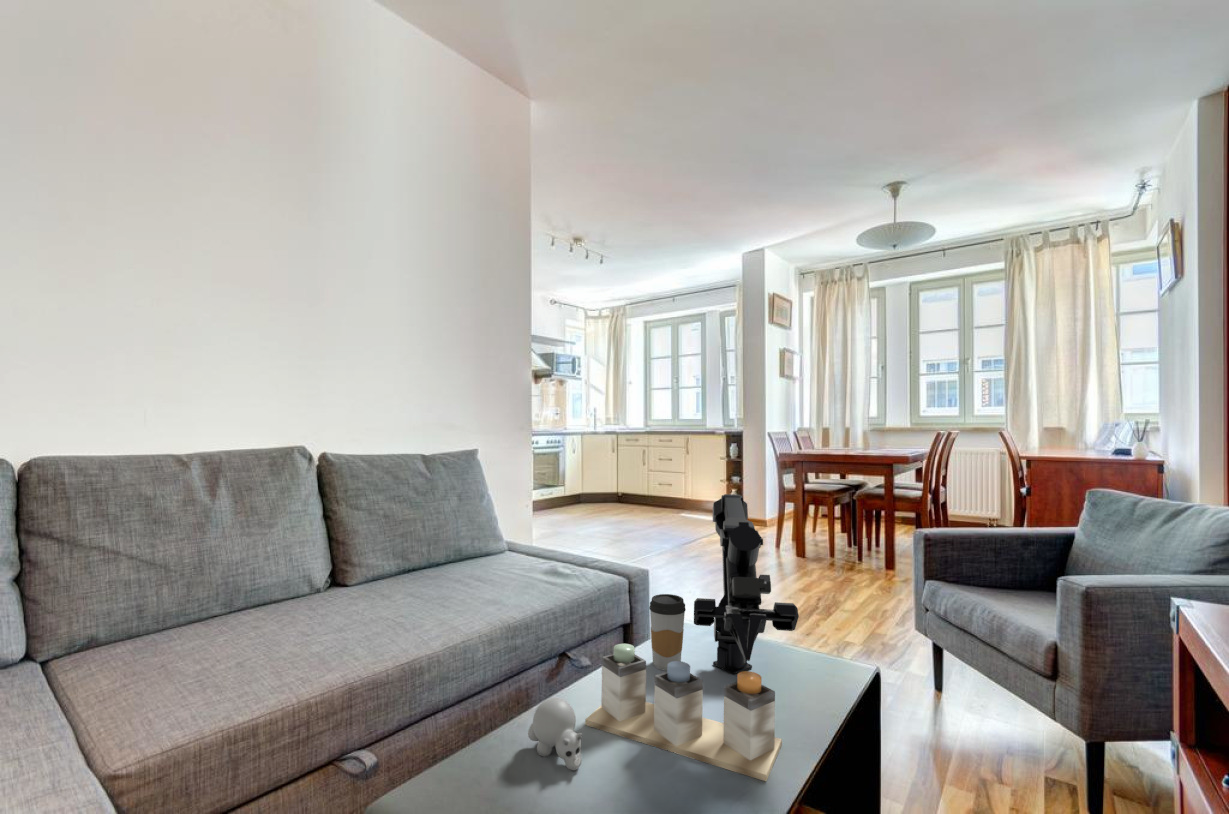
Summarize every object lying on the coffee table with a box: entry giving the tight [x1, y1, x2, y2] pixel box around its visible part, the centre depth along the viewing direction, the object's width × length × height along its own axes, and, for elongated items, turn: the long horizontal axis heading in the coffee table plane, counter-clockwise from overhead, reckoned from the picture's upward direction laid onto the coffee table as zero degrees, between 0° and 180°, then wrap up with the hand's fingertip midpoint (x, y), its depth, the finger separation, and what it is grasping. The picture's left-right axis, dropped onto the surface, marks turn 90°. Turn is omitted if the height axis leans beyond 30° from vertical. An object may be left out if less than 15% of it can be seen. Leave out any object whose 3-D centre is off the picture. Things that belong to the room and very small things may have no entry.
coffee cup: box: [649, 593, 686, 671], centre depth 130 cm, size 8×8×15 cm
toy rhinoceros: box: [527, 697, 583, 771], centre depth 94 cm, size 7×12×8 cm, turn 35°
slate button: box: [666, 660, 691, 683], centre depth 100 cm, size 4×4×2 cm
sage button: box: [613, 643, 636, 663], centre depth 108 cm, size 4×4×2 cm
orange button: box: [736, 670, 763, 694], centre depth 97 cm, size 4×4×2 cm
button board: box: [584, 653, 783, 782], centre depth 102 cm, size 11×33×11 cm, turn 62°
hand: (747, 660), depth 100 cm, fingers closed
